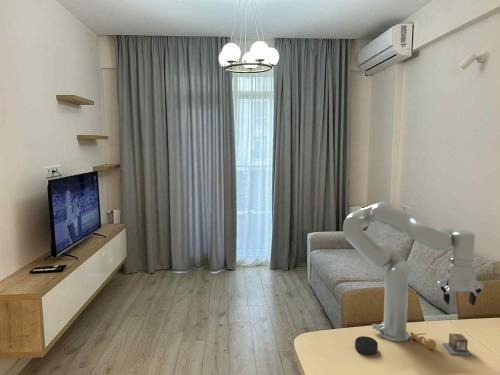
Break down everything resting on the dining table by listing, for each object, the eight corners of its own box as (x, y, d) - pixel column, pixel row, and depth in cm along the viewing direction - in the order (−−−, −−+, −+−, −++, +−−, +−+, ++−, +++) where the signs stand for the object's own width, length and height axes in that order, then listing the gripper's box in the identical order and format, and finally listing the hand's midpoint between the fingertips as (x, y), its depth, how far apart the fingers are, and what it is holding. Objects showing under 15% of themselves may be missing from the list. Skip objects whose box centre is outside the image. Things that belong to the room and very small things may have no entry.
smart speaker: (350, 347, 154) (350, 337, 154) (367, 342, 158) (367, 333, 157) (364, 357, 146) (365, 348, 146) (382, 353, 150) (382, 343, 149)
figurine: (428, 348, 149) (403, 330, 159) (427, 359, 151) (403, 340, 161) (442, 338, 152) (417, 321, 162) (441, 349, 154) (417, 331, 164)
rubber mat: (450, 354, 148) (450, 352, 148) (442, 344, 156) (442, 342, 156) (471, 356, 148) (471, 354, 147) (462, 345, 155) (462, 343, 155)
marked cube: (454, 351, 149) (454, 339, 149) (448, 344, 155) (449, 333, 154) (467, 352, 149) (467, 340, 148) (461, 345, 154) (461, 334, 154)
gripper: (443, 263, 146) (440, 305, 147) (489, 265, 144) (486, 308, 145) (435, 258, 153) (433, 298, 155) (480, 260, 151) (477, 300, 153)
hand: (459, 303), depth 150 cm, fingers open, 9 cm apart
